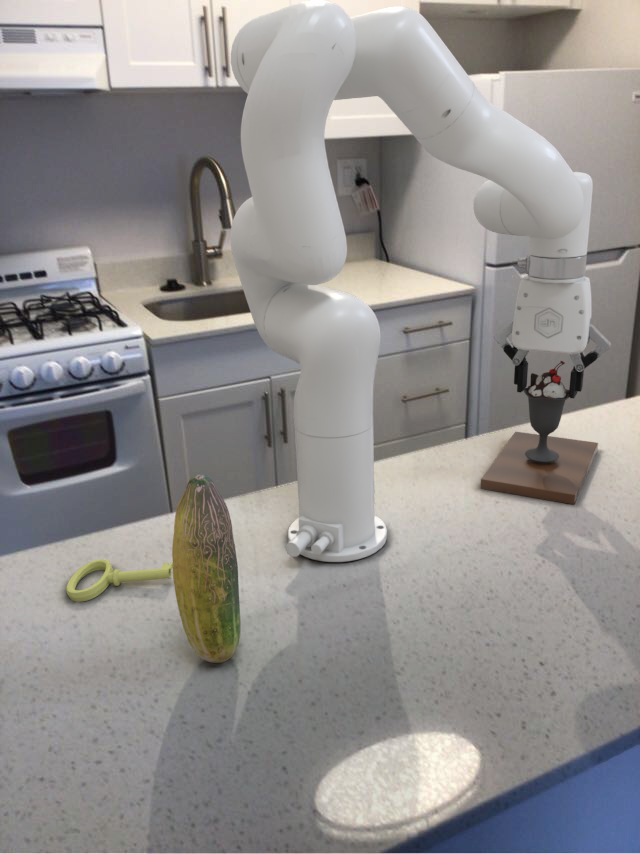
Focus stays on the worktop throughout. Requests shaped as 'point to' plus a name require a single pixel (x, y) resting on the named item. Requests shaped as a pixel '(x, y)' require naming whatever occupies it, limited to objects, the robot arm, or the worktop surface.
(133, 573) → the key
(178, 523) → the vegetable
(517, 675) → the worktop surface
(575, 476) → the serving board
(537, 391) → the sundae
